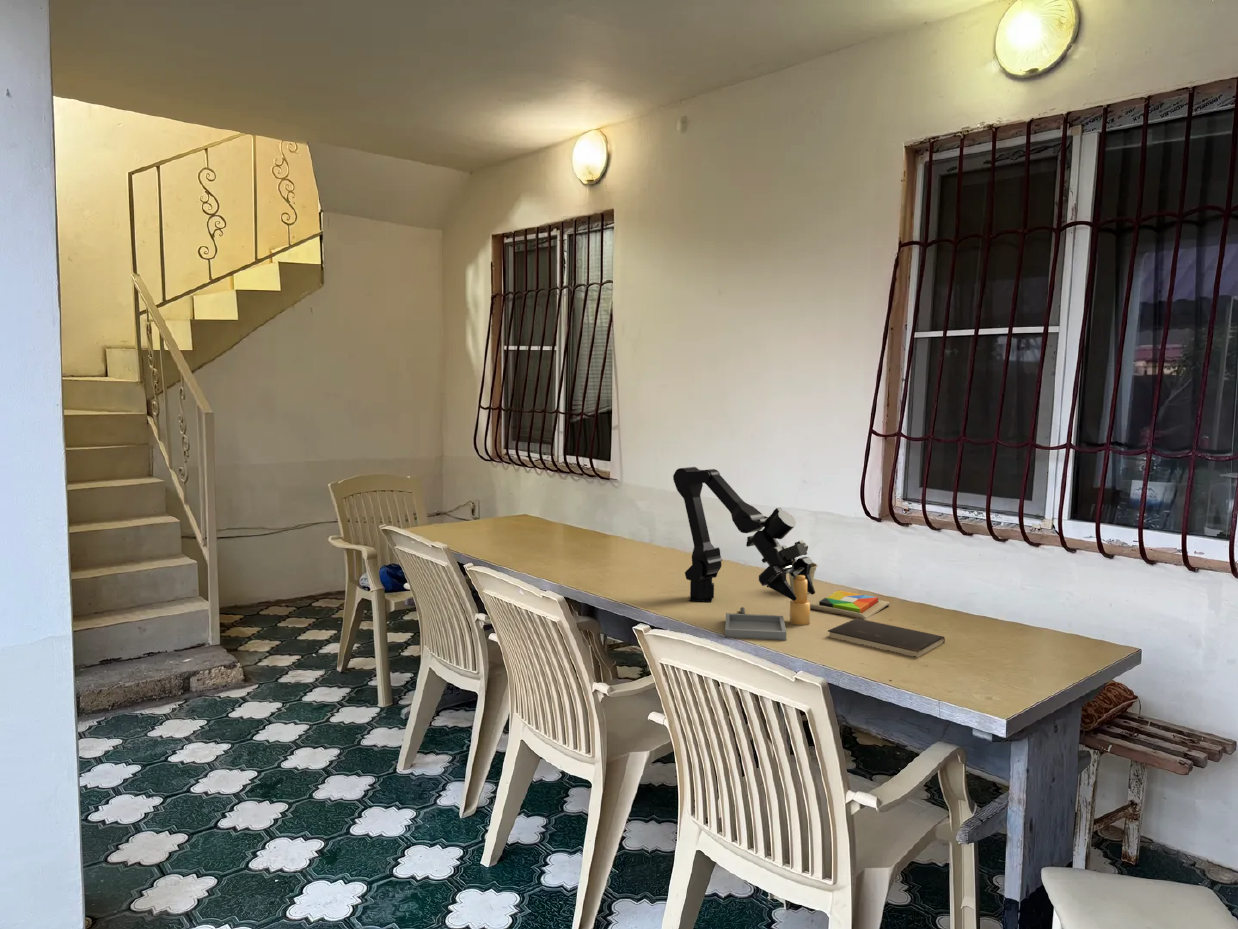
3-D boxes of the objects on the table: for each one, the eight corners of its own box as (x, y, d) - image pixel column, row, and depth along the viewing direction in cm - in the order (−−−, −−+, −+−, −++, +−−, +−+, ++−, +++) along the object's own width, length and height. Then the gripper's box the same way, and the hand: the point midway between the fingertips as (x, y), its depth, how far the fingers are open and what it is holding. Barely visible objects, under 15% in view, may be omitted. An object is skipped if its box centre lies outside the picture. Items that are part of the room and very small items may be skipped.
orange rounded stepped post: (790, 624, 214) (791, 577, 213) (789, 619, 219) (789, 573, 218) (810, 625, 213) (811, 578, 212) (808, 620, 218) (809, 574, 217)
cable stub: (740, 620, 217) (740, 616, 217) (740, 610, 227) (740, 606, 227) (745, 621, 217) (745, 616, 217) (744, 610, 227) (744, 606, 227)
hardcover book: (917, 660, 188) (918, 650, 188) (827, 639, 203) (827, 630, 203) (944, 645, 199) (945, 635, 199) (857, 626, 215) (857, 617, 215)
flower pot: (817, 596, 244) (818, 568, 243) (785, 594, 245) (786, 566, 245) (816, 589, 253) (817, 561, 252) (785, 587, 255) (786, 560, 254)
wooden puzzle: (805, 610, 230) (805, 598, 230) (834, 597, 245) (834, 586, 244) (864, 622, 219) (864, 609, 219) (891, 607, 233) (891, 595, 233)
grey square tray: (725, 637, 203) (725, 629, 202) (725, 620, 217) (725, 613, 217) (786, 640, 200) (786, 632, 200) (782, 623, 215) (783, 615, 215)
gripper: (769, 535, 210) (805, 585, 203) (807, 527, 223) (843, 573, 217) (743, 561, 216) (777, 609, 210) (782, 551, 230) (816, 597, 223)
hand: (804, 596), depth 214 cm, fingers open, 9 cm apart
